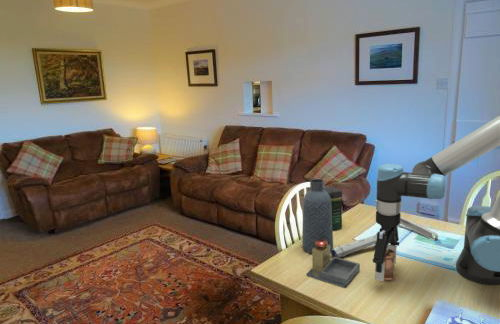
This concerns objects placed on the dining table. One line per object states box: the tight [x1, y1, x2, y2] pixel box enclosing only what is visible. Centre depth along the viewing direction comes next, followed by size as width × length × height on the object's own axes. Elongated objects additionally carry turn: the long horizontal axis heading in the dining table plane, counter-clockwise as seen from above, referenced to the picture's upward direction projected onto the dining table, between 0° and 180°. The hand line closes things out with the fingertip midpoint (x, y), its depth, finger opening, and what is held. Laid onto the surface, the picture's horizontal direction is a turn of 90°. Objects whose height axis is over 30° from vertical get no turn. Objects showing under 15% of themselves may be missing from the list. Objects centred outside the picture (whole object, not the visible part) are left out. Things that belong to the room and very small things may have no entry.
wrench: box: [399, 216, 439, 241], centre depth 159 cm, size 8×2×30 cm
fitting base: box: [306, 239, 361, 289], centre depth 126 cm, size 14×13×11 cm
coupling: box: [383, 248, 397, 282], centre depth 123 cm, size 6×6×9 cm
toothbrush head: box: [330, 232, 388, 258], centre depth 141 cm, size 5×7×25 cm
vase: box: [301, 178, 334, 255], centre depth 143 cm, size 12×12×28 cm
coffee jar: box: [324, 185, 343, 231], centre depth 163 cm, size 10×8×19 cm
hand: (385, 270), depth 123 cm, fingers open, 12 cm apart
